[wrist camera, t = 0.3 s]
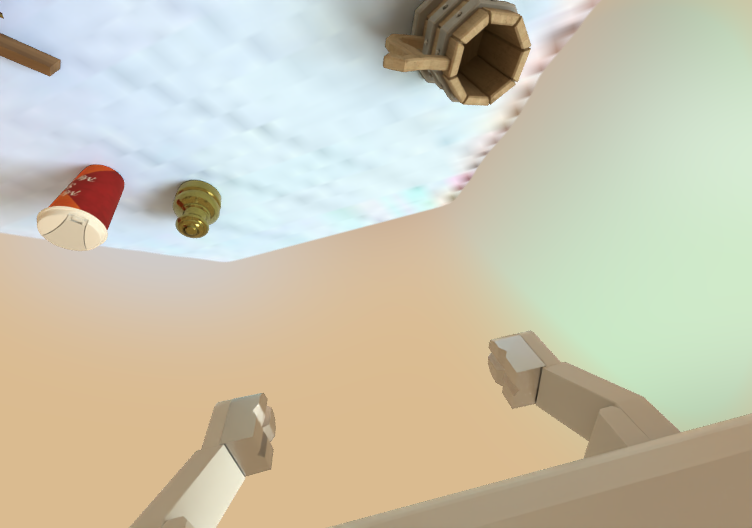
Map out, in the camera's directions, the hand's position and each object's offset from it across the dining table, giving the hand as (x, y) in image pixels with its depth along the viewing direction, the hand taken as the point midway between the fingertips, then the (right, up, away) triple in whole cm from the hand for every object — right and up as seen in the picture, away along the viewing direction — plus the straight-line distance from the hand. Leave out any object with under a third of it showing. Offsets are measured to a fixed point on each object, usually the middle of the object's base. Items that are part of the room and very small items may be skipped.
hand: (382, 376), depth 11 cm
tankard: (+8, +39, +37) cm, 55 cm away
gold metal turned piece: (-33, +17, +49) cm, 61 cm away
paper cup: (-46, +18, +43) cm, 66 cm away
